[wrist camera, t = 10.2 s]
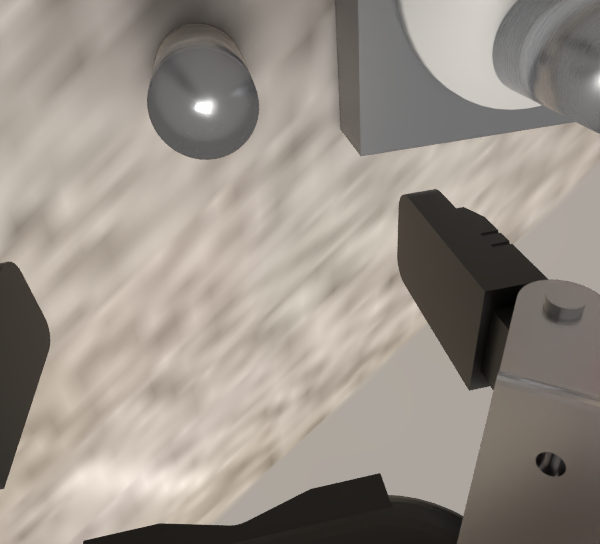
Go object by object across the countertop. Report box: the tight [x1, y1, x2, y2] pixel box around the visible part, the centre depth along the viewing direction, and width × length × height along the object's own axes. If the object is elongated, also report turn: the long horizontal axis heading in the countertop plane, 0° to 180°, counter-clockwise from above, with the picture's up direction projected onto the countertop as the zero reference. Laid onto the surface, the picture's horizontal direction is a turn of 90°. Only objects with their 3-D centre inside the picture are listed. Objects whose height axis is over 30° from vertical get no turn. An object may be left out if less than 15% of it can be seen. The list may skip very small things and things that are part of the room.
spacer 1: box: [147, 23, 259, 160], centre depth 22 cm, size 4×4×6 cm
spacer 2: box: [492, 0, 600, 133], centre depth 20 cm, size 4×4×6 cm
